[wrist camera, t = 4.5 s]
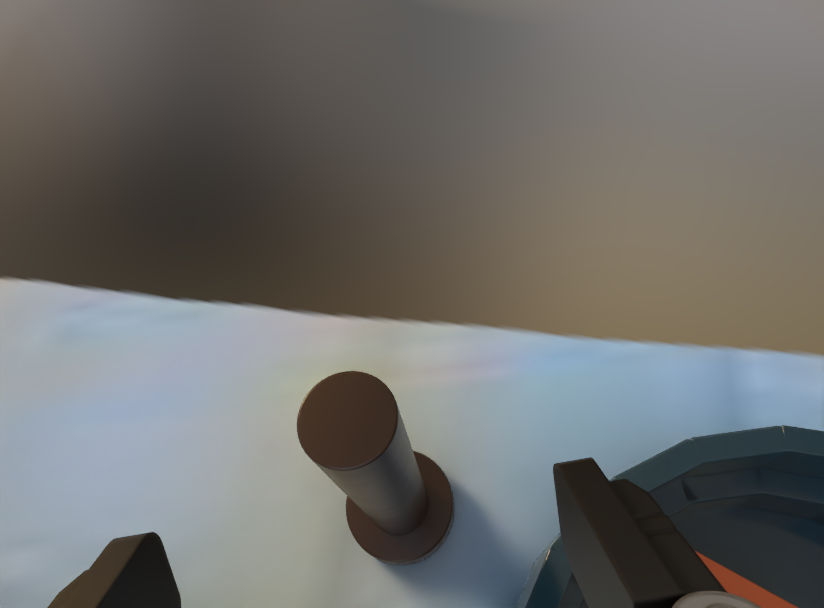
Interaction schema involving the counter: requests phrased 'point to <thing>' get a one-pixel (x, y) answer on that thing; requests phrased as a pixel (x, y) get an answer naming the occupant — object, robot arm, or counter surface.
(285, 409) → the counter surface
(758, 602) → the block
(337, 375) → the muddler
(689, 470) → the bowl
